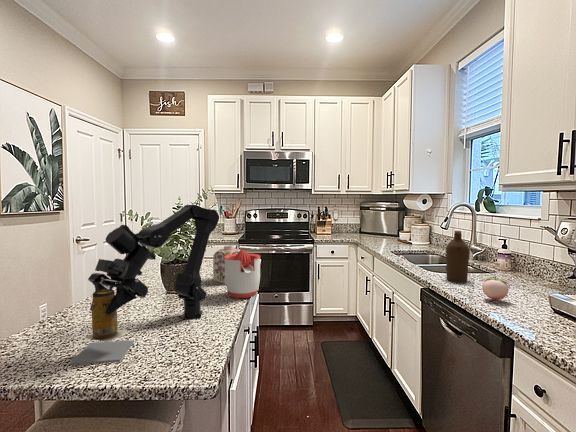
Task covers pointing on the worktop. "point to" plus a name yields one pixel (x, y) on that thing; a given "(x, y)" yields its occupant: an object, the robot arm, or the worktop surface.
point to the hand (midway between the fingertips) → (98, 312)
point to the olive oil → (457, 259)
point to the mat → (103, 352)
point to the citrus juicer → (242, 274)
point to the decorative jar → (222, 262)
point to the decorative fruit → (495, 288)
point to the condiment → (104, 317)
